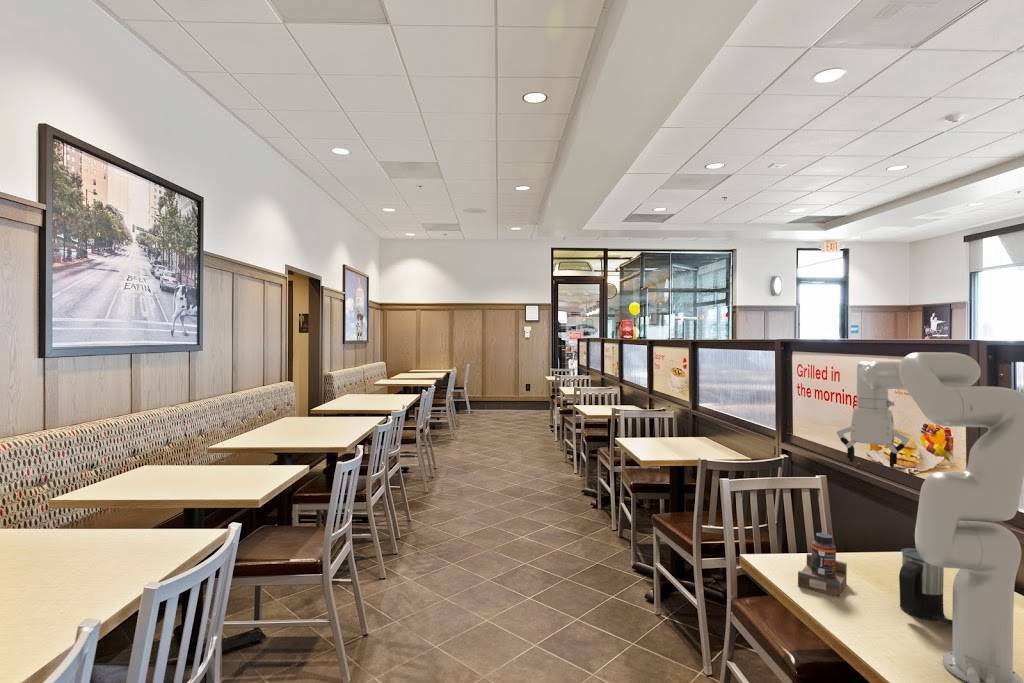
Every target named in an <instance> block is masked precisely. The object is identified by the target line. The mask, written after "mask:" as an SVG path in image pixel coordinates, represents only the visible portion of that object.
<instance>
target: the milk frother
mask: <svg viewBox="0 0 1024 683" xmlns="http://www.w3.org/2000/svg"><path fill="white" fill-rule="evenodd" d="M900 552H901V553H902V555H901V556H902V558H901V560H902V561H901V562H902V563H901V567H900V571H899V575H898V578H899V579H898V580H899V583H898V584H899V607H900V609H901V610H903V611H905V612H906V613H907V614H910V615H912V616H914V617H917V618H920V619H924V620H931V621H939V622H942V623H945V624H949V625H952V619H948V618H945V617H946V615H945V613H944V573H945V572H944V570H945V569H944V568H943V567H936V566H933V565H930V564H928V563H927V562H925V561H924V560H923V559H922V558H921V557H920V555H919V553H918V551H917V549H916V547H905V548H902V549H901V550H900Z"/></svg>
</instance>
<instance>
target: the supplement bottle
mask: <svg viewBox="0 0 1024 683" xmlns="http://www.w3.org/2000/svg"><path fill="white" fill-rule="evenodd" d="M836 549H837V548H836V545H835V544H834V543H833V536H832V535H831V534H828V533H824V532H816V534H815V540H814V539H813V541H812V542H811V555H812V560H811V571H812V573H813V574H814V575H817V576H821V577H825V578H829V579H831V578H834V577H835V568H836V561H837V560H836V559H837V558H836V555H837V550H836Z"/></svg>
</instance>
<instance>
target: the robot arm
mask: <svg viewBox="0 0 1024 683" xmlns="http://www.w3.org/2000/svg"><path fill="white" fill-rule="evenodd" d="M980 377H981V367H980V365H979V363H978V362H977V361H976V359H974V358H973V357H971V356H970V355H967V354H964V353H959V352H951V351H950V352H947V351H946V352H931V351H929V352H926V351H925V352H923V351H921V352H916V351H915V352H912V353H909V354H907V355H906V356H904V357H903V358H902V359H901V360H900V361H876V360H873V361H872V360H871V361H869V360H866V361H865V360H864V361H860V362H858V363H857V366H856V407H854V408H853V410H852V414H851V421H850V423H851V424H850V426H848V427H845V428H842V429H840V430H837V431H836V435H837V436H838V438H839V439H840V441H841V443H843V444H844V445H845V447H846V448H847V449H846V450H847V451H846V452H847V459H849V462H850V463H852V462H855V447H854V445H855V444H856V443H859V444H866V445H867V444H869V445H874V446H875V445H878V446H886V447H887V448H888V449H889V450H890V453H889V467H890V468H894V467H895V465H897V464H898V453H899V452H901V450H903V449H905V447H906V445H907V444H908V442H909V441H910V438H909V437H907V436H905V435H904V434H902V433H900V432H898V431H897V430H895V428H894V427H895V426H894V415H893V412H892V409H889V408H891V407H895V401H892V400H889V390H906V391H907V393H908V394H909V396H910V397H911V399H912V400H913V402H915V404H916V406H917V407H918V408H919V410H920V411H921V413H922V414H923V415H924V416H925V417H926V419H927V420H929V421H930V422H931V423H933V424H935V425H939V426H942V427H960V428H961V427H962V428H963V427H964V428H965V427H966V428H968V427H969V428H987V429H988V430H987V431H986V432H985V433H984V434H982V435H981V436H980V437H979V438H978V439H977V440H976V441H975V442H974V444H973V446H971V449H970V451H969V453H968V454H969V456H968V462H967V466H966V468H965V470H963V471H961V472H960V471H939V472H938V471H937V472H934V473H931V474H930V475H928V476H926V478H925V480H924V481H923V482H922V485H921V488H920V491H919V500H918V506H917V514H916V522H915V528H914V530H915V531H914V542H915V548H916V549H917V551H918V553H919V555H920V557H921V558H922V559H923V560H924V561H925V562H927V563H928V564H930V565H933V566H936V567H943V568H945V569H959V570H958V571H957V573H956V574H955V576H954V580H953V583H952V619H951V620H952V624H951V626H952V629H951V630H952V632H951V633H952V637H951V639H952V641H951V643H952V645H951V651H949V652H946V653H944V654H943V655H942V663H943V666H944V667H945V669H946V670H947V671H949V672H950V673H951V674H952V675H954V676H955V677H957V679H961V680H962V681H964V682H966V683H1024V681H1023V678H1022V677H1021V676H1020V675H1019V674H1018V673H1017V672H1016V671H1015V670H1014V602H1015V599H1014V598H1015V584H1016V577H1017V573H1018V570H1019V567H1020V563H1021V560H1022V548H1021V544H1020V540H1019V539H1018V538H1017V536H1016V535H1015V534H1014V533H1013V532H1012V531H1011V530H1010V529H1008V528H1006V527H1005V526H1003V525H1000V524H997V523H994V522H1004V521H1008V520H1012V519H1013V518H1015V516H1016V514H1017V511H1018V509H1019V505H1020V501H1021V496H1022V490H1023V489H1022V488H1023V482H1024V393H1023V392H1021V391H1019V390H1016V389H1014V388H1008V387H1001V386H990V385H989V386H987V385H986V386H985V385H984V386H982V385H974V384H975V383H976V382H977V381H978V380H979V379H980ZM846 433H850V440H848V438H846V436H845V434H846ZM895 438H897V439H898V440H900V441H901V442H900V443H899V444H898V445H897V446H896V445H895V444H894V441H895Z"/></svg>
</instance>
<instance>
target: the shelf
mask: <svg viewBox="0 0 1024 683" xmlns="http://www.w3.org/2000/svg"><path fill="white" fill-rule="evenodd" d="M811 560H812V553H807V554H806V565H804V567H803V569H802V570H798V572H797V587H800V588H803V589H806V590H810V591H813V590H814V591H813V592H817V591H818V593H820V592H821V594H824V595H827V594H828V596H831V595H832V596H831V597H835V596H836V597H835V598H838V597H839V598H840V596H841V595H840V594H842V593H843V591H844V589H845V588H844V587H846V585H847V578H848V577H847V575H848V574H847V567H848V566H847V562H844V561H840V560H836V568H835V577H834V578H831V579H829V578H825V577H821V576H817V575H814V574H813V573H812V571H811Z"/></svg>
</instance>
